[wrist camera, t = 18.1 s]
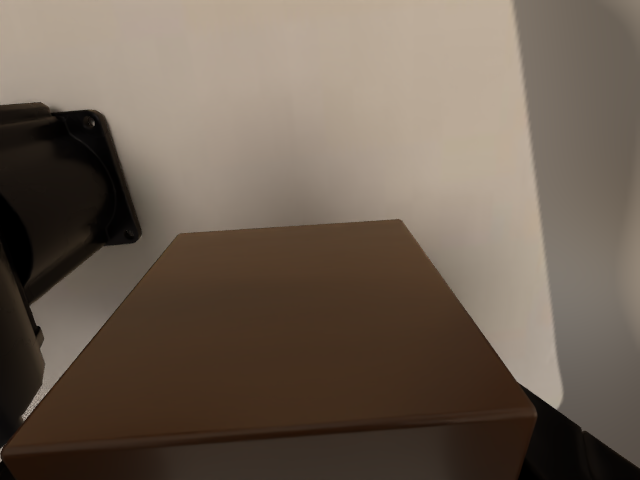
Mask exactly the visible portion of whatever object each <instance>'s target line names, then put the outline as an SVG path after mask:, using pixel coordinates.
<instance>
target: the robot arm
mask: <svg viewBox="0 0 640 480" xmlns="http://www.w3.org/2000/svg"><path fill="white" fill-rule="evenodd" d="M89 116H90V117H92V118H93V119H94V121H95V126H94V127H93V126H91V125H90V124H89V122H88V118H89ZM127 230H130V231H131V232H132V233H133V234H134V236H131V235H129V234H128V233H127ZM141 235H142V231H141V228H140V225H139V222H138V218H137V215H136V212H135V209H134V206H133V203H132V200H131V197H130V194H129V191H128V188H127V185H126V182H125V179H124V176H123V173H122V170H121V167H120V164H119V161H118V158H117V155H116V152H115V149H114V146H113V143H112V140H111V137H110V134H109V131H108V128H107V125H106V122H105V119H104V117H103V116H102V115H101V114H100V113H99V112H98V111H96V110H79V111H68V112H57V113H51V112H50V110H49V107H48V106H46V105H45V104H43V103H41V102H36V103H23V104H10V105H0V448H2V447H3V446H4V445H5V444H6V443H7V442H8V440H9V439H10V438H11V437H12V436H13V434H14V433H15V432H16V431H17V430H18V428H19V427H20V426H21V425H22V423H23V418H22V415H23V414H24V412H25V411H26V409H27V408H28V406H29V405H30V403H31V401H32V400H33V398H34V397H35V395H36V393H37V392H38V390H39V389H40V387H41V385H42V381H43V374H44V368H45V362H44V359H43V357H42V354H41V351H40V347H41V345H42V343H43V341H44V336H43V333H42V330H41V327H40V326H36V323H35V320H34V318H33V315H32V312H31V309H30V305H32V304H33V303H34V302H35V301H37V300H38V299H39V298H40V297H41V296H43V295H44V294H45V293H46V292H48V291H49V290H50V289H51V288H52V287H54V286H55V285H56V284H57V283H59V282H60V281H61V280H62V279H63V278H65V277H66V276H67V275H68V274H70V273H71V272H72V271H73V270H74V269H76V268H77V267H78V266H79V265H81V264H82V263H83V262H84V261H85V260H87V259H88V258H89V257H90V256H92V255H93V254H94V253H95V252H96V251H98V250H99V249H100V248H101V247H103V246H109V245H120V244H131V243H135V242H136V241H137V240H138V239H139V238H140V237H141ZM518 384H519V383H518ZM519 385H520V387H521V388H522V389H523V391H524V392H525V394H526V395H527V396H528V398H529V399H530V401H531V402H532V403H533V405H534V406H535V409H536V412H537V420H536V424H535V427H534V430H533V433H532V436H531V440H530V443H529V446H528V449H527V452H526V456H525V459H524V462H523V465H522V468H521V471H520V475H519V478H518V480H640V468H638V467H637V466H636V465H634V464H633V463H631V462H630V461H628V460H627V459H625V458H624V457H622V456H621V455H619V454H618V453H617V452H615V451H614V450H612V449H611V448H609V447H608V446H607V445H605V444H604V443H602V442H601V441H599V440H598V439H597V438H595V437H594V436H593V435H591V434H590V433H588V432H587V431H582V429H581V427H580V426H578V425H577V424H575V423H574V422H573V421H571V420H570V419H568V418H567V417H566V416H564V415H563V414H561V413H560V412H558V411H557V410H556V409H554V408H553V407H552V406H550V405H549V404H547V403H546V402H545V401H543V400H542V399H540V398H539V397H538V396H536V395H535V394H533V393H532V392H531V391H529V390H528V389H526V388H525V387H524V386H522V385H521V384H519ZM0 480H16V479H15V478H14V477H13V475H12V474H11V472H10V471H9V469H8V468H7V466H6V465H5V464H4V462H3V461H1V462H0Z"/></svg>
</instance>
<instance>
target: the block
mask: <svg viewBox="0 0 640 480" xmlns="http://www.w3.org/2000/svg"><path fill="white" fill-rule="evenodd" d="M536 420H537V412H536V409H535V406H534V405H533V403H532V402H531V401H530V399H529V398H528V396H527V395H526V394H525V392H524V391H523V389H522V388H521V387H520V385H519V384H518V382H517V381H516V380H515V378H514V377H513V375H512V374H511V373H510V371H509V370H508V368H507V367H506V366H505V364H504V363H503V361H502V360H501V359H500V357H499V356H498V354H497V353H496V352H495V350H494V349H493V347H492V346H491V345H490V343H489V342H488V340H487V339H486V338H485V336H484V335H483V333H482V332H481V331H480V329H479V328H478V326H477V325H476V324H475V322H474V321H473V319H472V318H471V317H470V315H469V314H468V312H467V311H466V310H465V308H464V307H463V305H462V304H461V303H460V301H459V300H458V298H457V297H456V296H455V294H454V293H453V291H452V290H451V289H450V287H449V286H448V284H447V283H446V282H445V280H444V279H443V277H442V276H441V275H440V273H439V272H438V270H437V269H436V268H435V266H434V265H433V263H432V262H431V261H430V259H429V258H428V256H427V255H426V254H425V252H424V251H423V249H422V248H421V247H420V245H419V244H418V242H417V241H416V240H415V238H414V237H413V235H412V234H411V233H410V231H409V230H408V228H407V227H406V226H405V224H404V223H403V221H402V220H400V219H395V220H379V221H364V222H348V223H333V224H317V225H302V226H287V227H271V228H256V229H240V230H225V231H209V232H194V233H180V234H178V235H177V236H176V238H175V239H174V240H173V241H172V242H171V244H170V245H169V246H168V247H167V249H166V250H165V251H164V252H163V253H162V255H161V256H160V257H159V258H158V259H157V261H156V262H155V263H154V264H153V266H152V267H151V268H150V269H149V270H148V272H147V273H146V274H145V275H144V276H143V278H142V279H141V280H140V281H139V283H138V284H137V285H136V286H135V287H134V289H133V290H132V291H131V292H130V293H129V295H128V296H127V297H126V298H125V300H124V301H123V302H122V303H121V304H120V306H119V307H118V308H117V309H116V310H115V312H114V313H113V314H112V315H111V317H110V318H109V319H108V320H107V321H106V323H105V324H104V325H103V326H102V327H101V329H100V330H99V331H98V332H97V334H96V335H95V336H94V337H93V338H92V340H91V341H90V342H89V343H88V344H87V346H86V347H85V348H84V349H83V351H82V352H81V353H80V354H79V355H78V357H77V358H76V359H75V360H74V361H73V363H72V364H71V365H70V366H69V368H68V369H67V370H66V371H65V372H64V374H63V375H62V376H61V377H60V378H59V380H58V381H57V382H56V383H55V385H54V386H53V387H52V388H51V389H50V391H49V392H48V393H47V394H46V396H45V397H44V398H43V399H42V400H41V402H40V403H39V404H38V405H37V406H36V408H35V409H34V410H33V411H32V413H31V414H30V415H29V416H28V417H27V419H26V420H25V421H24V422H23V423H22V425H21V426H20V427H19V428H18V430H17V431H16V432H15V433H14V434H13V436H12V437H11V438H10V439H9V440H8V442H7V443H6V444H5V445H4V447H3V449H2V451H1V453H0V454H1V459H2V461H3V462H4V464H5V465H6V466H7V468H8V469H9V471H10V472H11V474H12V475H13V477H14V478H15V479H16V480H518V478H519V475H520V471H521V468H522V465H523V462H524V459H525V456H526V452H527V449H528V446H529V443H530V440H531V436H532V433H533V430H534V427H535V424H536Z"/></svg>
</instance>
